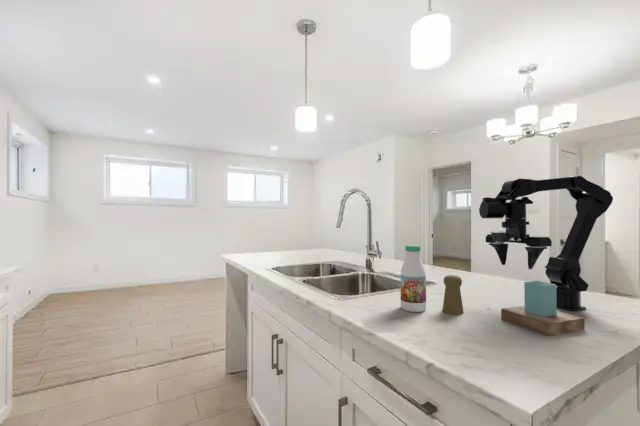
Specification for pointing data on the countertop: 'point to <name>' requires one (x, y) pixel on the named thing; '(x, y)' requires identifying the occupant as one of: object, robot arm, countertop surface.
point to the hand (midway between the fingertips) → (516, 266)
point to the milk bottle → (413, 281)
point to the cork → (452, 295)
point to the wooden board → (543, 321)
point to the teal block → (540, 298)
